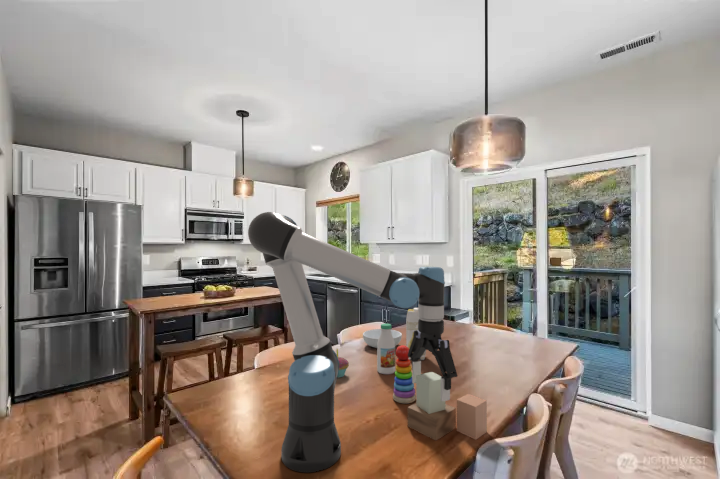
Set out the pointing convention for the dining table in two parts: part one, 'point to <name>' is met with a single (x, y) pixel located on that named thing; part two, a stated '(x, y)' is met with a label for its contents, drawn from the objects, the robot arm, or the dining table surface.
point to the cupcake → (342, 365)
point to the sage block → (429, 392)
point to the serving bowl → (373, 336)
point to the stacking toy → (403, 377)
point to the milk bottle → (386, 351)
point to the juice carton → (412, 327)
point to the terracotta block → (472, 416)
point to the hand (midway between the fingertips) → (430, 390)
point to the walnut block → (432, 421)
